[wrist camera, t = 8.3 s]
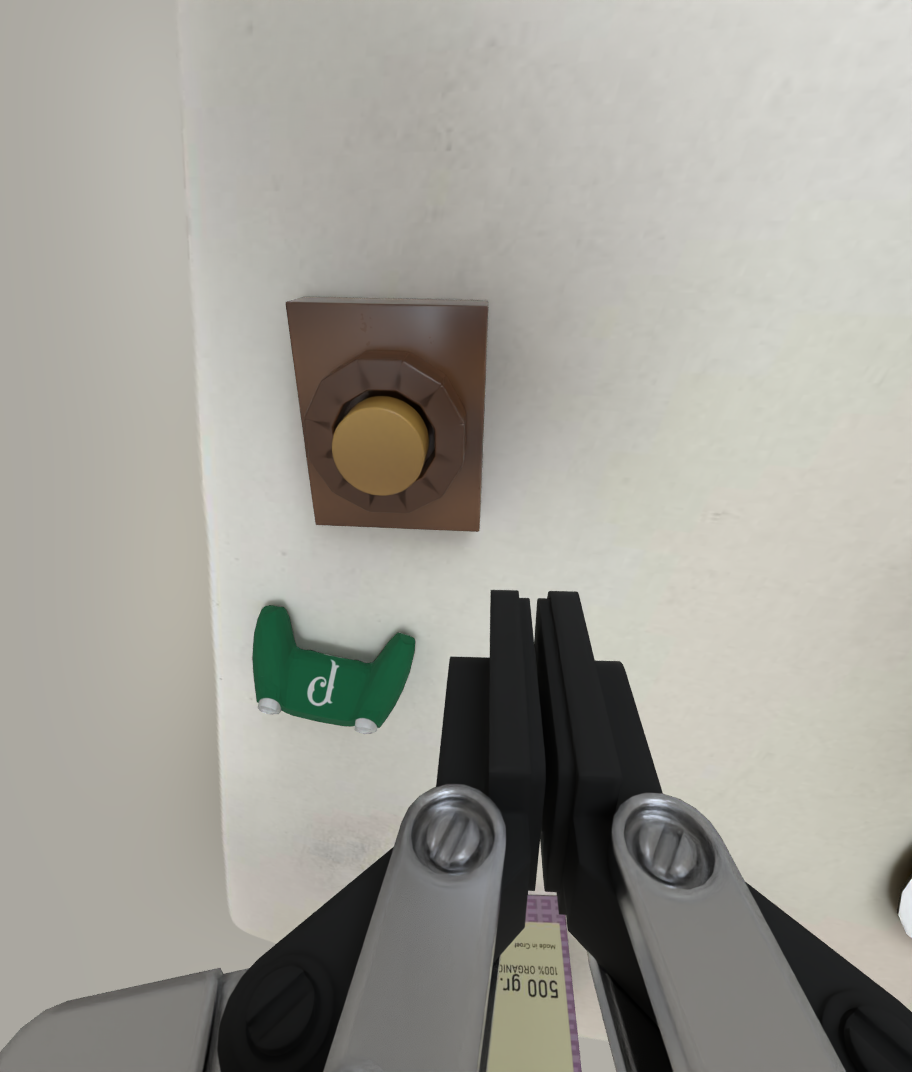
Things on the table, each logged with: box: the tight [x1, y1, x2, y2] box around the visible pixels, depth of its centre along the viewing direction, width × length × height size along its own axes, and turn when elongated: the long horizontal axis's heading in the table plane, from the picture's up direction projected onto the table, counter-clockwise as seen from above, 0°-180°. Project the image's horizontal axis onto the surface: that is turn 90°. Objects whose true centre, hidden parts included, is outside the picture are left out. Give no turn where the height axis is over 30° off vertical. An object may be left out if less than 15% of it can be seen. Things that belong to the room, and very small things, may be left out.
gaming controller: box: [253, 605, 415, 734], centre depth 31 cm, size 9×4×6 cm
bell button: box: [332, 396, 429, 496], centre depth 21 cm, size 4×4×2 cm
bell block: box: [286, 297, 489, 532], centre depth 23 cm, size 10×8×4 cm
